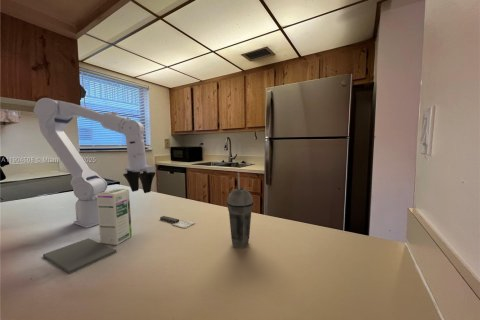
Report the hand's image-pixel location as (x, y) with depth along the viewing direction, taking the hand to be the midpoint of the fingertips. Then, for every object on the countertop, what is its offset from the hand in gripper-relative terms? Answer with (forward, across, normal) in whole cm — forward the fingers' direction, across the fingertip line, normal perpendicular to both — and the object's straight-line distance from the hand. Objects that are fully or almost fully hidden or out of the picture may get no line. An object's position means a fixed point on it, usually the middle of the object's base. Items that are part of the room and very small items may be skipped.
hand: (141, 191), depth 75 cm
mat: (+10, -8, +23) cm, 26 cm away
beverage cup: (+13, -40, -3) cm, 42 cm away
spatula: (+12, -12, -4) cm, 17 cm away
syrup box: (+11, -8, +14) cm, 19 cm away
